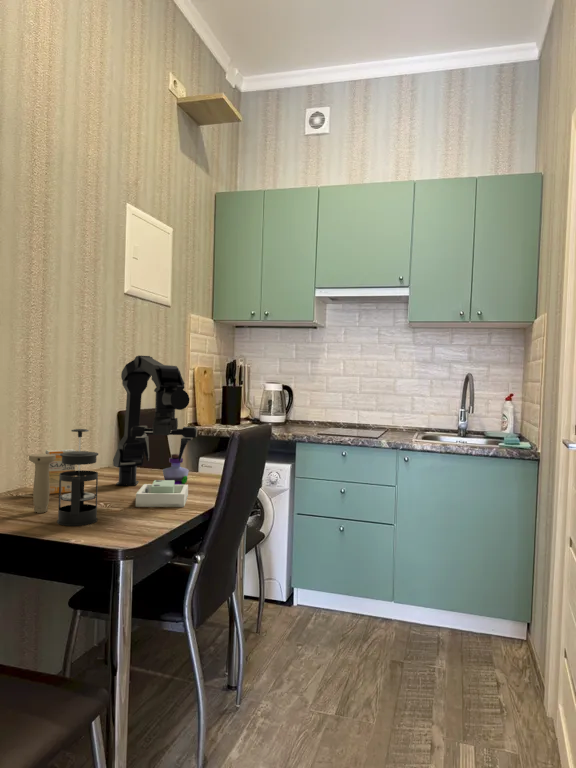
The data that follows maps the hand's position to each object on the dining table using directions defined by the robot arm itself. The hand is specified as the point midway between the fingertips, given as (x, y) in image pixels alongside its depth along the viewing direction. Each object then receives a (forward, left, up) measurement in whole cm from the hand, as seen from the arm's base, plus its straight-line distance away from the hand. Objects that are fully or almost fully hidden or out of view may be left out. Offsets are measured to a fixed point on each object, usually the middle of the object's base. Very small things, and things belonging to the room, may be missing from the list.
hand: (163, 460), depth 162 cm
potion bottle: (-15, +2, -12) cm, 19 cm away
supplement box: (-12, -33, -12) cm, 37 cm away
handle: (+14, -30, -12) cm, 35 cm away
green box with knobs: (0, 0, -11) cm, 11 cm away
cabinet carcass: (0, 0, -12) cm, 12 cm away
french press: (+24, -18, -12) cm, 32 cm away
